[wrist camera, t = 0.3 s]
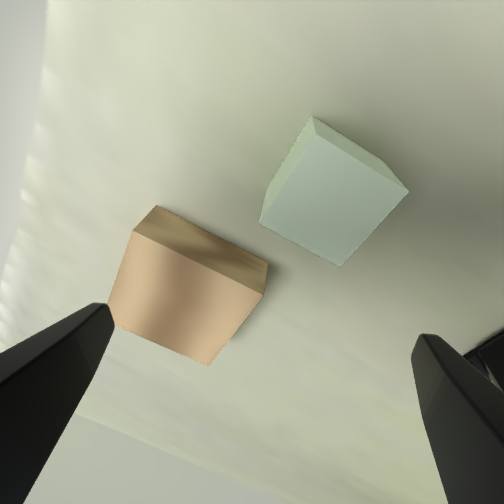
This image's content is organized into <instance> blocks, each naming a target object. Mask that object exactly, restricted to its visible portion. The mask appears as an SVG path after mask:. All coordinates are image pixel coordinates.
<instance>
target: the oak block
mask: <svg viewBox="0 0 504 504" xmlns="http://www.w3.org/2000/svg"><path fill="white" fill-rule="evenodd" d="M267 267H268V263H267V262H265V261H264V260H262V259H260V258H258V257H256V256H254V255H252V254H250V253H248V252H246V251H244V250H242V249H240V248H238V247H236V246H235V245H233V244H231V243H229V242H227V241H225V240H223V239H221V238H219V237H217V236H215V235H213V234H211V233H209V232H207V231H205V230H204V229H202V228H200V227H198V226H196V225H194V224H192V223H190V222H188V221H186V220H184V219H182V218H180V217H178V216H176V215H175V214H173V213H171V212H169V211H167V210H165V209H163V208H161V207H159V206H157V205H156V206H155V207H154V208H153V209H152V210H151V211H150V212H149V214H148V215H147V216H146V217H145V218H144V219H143V220H142V221H141V222H140V223H139V224H138V225H137V226H136V228H135V229H134V230H133V231H132V234H131V237H130V240H129V243H128V245H127V248H126V251H125V254H124V257H123V260H122V263H121V265H120V268H119V271H118V274H117V277H116V280H115V283H114V286H113V288H112V291H111V294H110V297H109V300H108V303H107V305H108V306H109V308H110V311H111V314H112V317H113V319H114V323H115V326H117V327H120V328H122V329H124V330H126V331H129V332H131V333H133V334H136V335H138V336H140V337H143V338H145V339H147V340H150V341H152V342H154V343H156V344H159V345H161V346H163V347H166V348H168V349H170V350H173V351H175V352H177V353H180V354H182V355H184V356H186V357H189V358H191V359H193V360H196V361H198V362H200V363H203V364H205V365H207V366H210V364H211V363H212V362H213V360H214V359H215V358H216V357H217V355H218V354H219V353H220V351H221V350H222V349H223V347H224V346H225V345H226V344H227V342H228V341H229V340H230V338H231V337H232V336H233V334H234V333H235V332H236V331H237V329H238V328H239V327H240V325H241V324H242V323H243V321H244V320H245V319H246V318H247V316H248V315H249V314H250V312H251V311H252V310H253V308H254V307H255V306H256V305H257V303H258V302H259V301H260V299H261V298H262V297H263V295H264V289H265V282H266V274H267Z"/></svg>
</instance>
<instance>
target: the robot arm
mask: <svg viewBox="0 0 504 504" xmlns="http://www.w3.org/2000/svg"><path fill="white" fill-rule="evenodd" d="M114 328H115V323H114V319H113V317H112V314H111V311H110V308H109V306H108V305H107V304H105V303H92V304H90V305H88V306H86V307H84V308H82V309H80V310H79V311H77V312H75V313H73V314H71V315H70V316H68V317H66V318H64V319H62V320H60V321H59V322H57V323H55V324H53V325H51V326H49V327H48V328H46V329H44V330H42V331H40V332H38V333H37V334H35V335H33V336H31V337H29V338H27V339H26V340H24V341H22V342H20V343H18V344H17V345H15V346H13V347H11V348H9V349H7V350H6V351H4V352H2V353H0V504H23V503H24V501H25V499H26V497H27V496H28V494H29V492H30V490H31V488H32V486H33V485H34V483H35V481H36V479H37V478H38V476H39V474H40V472H41V470H42V469H43V467H44V465H45V463H46V462H47V460H48V458H49V456H50V454H51V452H52V451H53V449H54V447H55V445H56V443H57V442H58V440H59V438H60V436H61V435H62V433H63V431H64V429H65V427H66V426H67V424H68V422H69V420H70V418H71V417H72V415H73V413H74V411H75V409H76V408H77V406H78V404H79V402H80V400H81V399H82V397H83V395H84V393H85V391H86V390H87V388H88V386H89V384H90V382H91V380H92V379H93V377H94V375H95V372H96V370H97V368H98V366H99V364H100V361H101V359H102V357H103V354H104V352H105V350H106V347H107V345H108V343H109V341H110V338H111V336H112V334H113V331H114ZM411 362H412V368H413V373H414V378H415V383H416V389H417V394H418V399H419V404H420V410H421V414H422V419H423V422H424V426H425V429H426V432H427V436H428V439H429V442H430V445H431V449H432V452H433V455H434V458H435V462H436V465H437V468H438V471H439V475H440V478H441V481H442V484H443V488H444V491H445V494H446V497H447V501H448V504H504V332H502V333H501V334H499V335H497V336H496V337H494V338H493V339H491V340H489V341H488V342H486V343H485V344H483V345H482V346H480V347H478V348H477V349H475V350H474V351H472V352H470V353H469V354H467V355H466V356H464V357H463V356H461V355H460V354H459V353H458V352H457V351H456V350H455V349H453V348H452V347H451V346H450V345H449V344H448V343H447V342H445V341H444V340H443V339H442V338H441V337H439V336H438V335H434V334H420V335H419V337H418V339H417V342H416V344H415V347H414V349H413V352H412V355H411ZM491 381H492V382H493V383H492V382H491Z"/></svg>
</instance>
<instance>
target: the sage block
mask: <svg viewBox="0 0 504 504" xmlns="http://www.w3.org/2000/svg"><path fill="white" fill-rule="evenodd" d="M408 192H409V191H408V190H407V189H406V188H405V186H404V185H403V184H402V183H401V182H400V181H399V179H398V178H397V177H396V176H395V175H394V173H393V172H392V171H391V170H390V169H389V167H388V166H387V165H386V164H385V163H384V162H383V161H382V160H381V159H379V158H378V157H376V156H375V155H373V154H371V153H370V152H368V151H367V150H365V149H364V148H362V147H360V146H359V145H357V144H356V143H354V142H352V141H351V140H349V139H348V138H346V137H345V136H343V135H341V134H340V133H338V132H337V131H335V130H334V129H332V128H330V127H329V126H327V125H326V124H324V123H322V122H321V121H319V120H318V119H316V118H315V117H313V116H310V118H309V120H308V121H307V123H306V125H305V126H304V128H303V130H302V131H301V133H300V135H299V136H298V138H297V139H296V141H295V143H294V144H293V146H292V148H291V149H290V151H289V153H288V154H287V156H286V158H285V159H284V161H283V163H282V164H281V166H280V167H279V169H278V171H277V172H276V174H275V176H274V177H273V179H272V181H271V182H270V184H269V186H268V187H267V189H266V194H265V198H264V203H263V207H262V212H261V216H260V221H259V224H261V225H262V226H264V227H266V228H268V229H270V230H272V231H273V232H275V233H277V234H279V235H281V236H283V237H284V238H286V239H288V240H290V241H292V242H294V243H296V244H297V245H299V246H301V247H303V248H305V249H307V250H308V251H310V252H312V253H314V254H316V255H318V256H319V257H321V258H323V259H325V260H327V261H329V262H330V263H332V264H334V265H336V266H338V267H341V266H342V265H343V264H344V263H345V261H346V260H347V259H348V258H349V257H350V256H351V255H352V254H353V253H354V252H355V250H356V249H357V248H358V247H359V246H360V245H361V244H362V243H363V242H364V241H365V240H366V238H367V237H368V236H369V235H370V234H371V233H372V232H373V231H374V230H375V229H376V227H377V226H378V225H379V224H380V223H381V222H382V221H383V220H384V219H385V218H386V217H387V215H388V214H389V213H390V212H391V211H392V210H393V209H394V208H395V207H396V206H397V205H398V203H399V202H400V201H401V200H402V199H403V198H404V197H405V196H406V195H407V194H408Z"/></svg>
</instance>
